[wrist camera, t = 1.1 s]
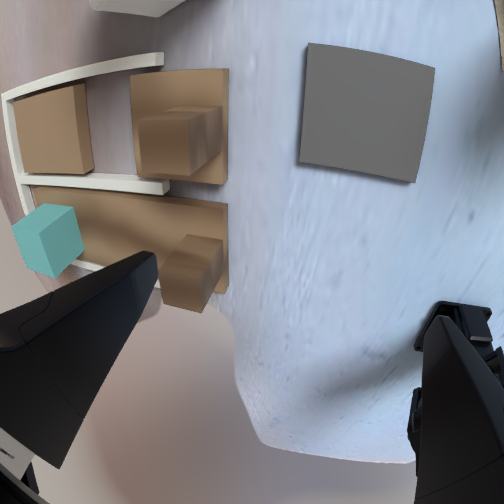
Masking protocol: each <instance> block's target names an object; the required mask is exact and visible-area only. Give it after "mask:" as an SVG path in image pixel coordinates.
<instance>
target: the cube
mask: <svg viewBox="0 0 504 504" xmlns="http://www.w3.org/2000/svg"><path fill="white" fill-rule="evenodd" d="M12 230H13V233H14V235H15V238H16V241H17V244H18V246H19V249H20V252H21V254H22V257H23V259H24V261H25V264H26V266H27V268H29V269H31V270H34V271H36V272H39V273H42V274H44V275H47V276H50V277H53V278H56V277H57V276H58V275H59V274H60V273H61V272H62V271H63V270H64V269H65V268H66V267H67V266H68V265H70V264H71V263H72V262H73V261H74V260H75V259H76V258H77V257H78V256H79V255H80V254H81V253H82V252H83V251H84V250H85V248H84V245H83V241H82V238H81V234H80V230H79V227H78V223H77V219H76V215H75V211H74V207H70V206H63V205H55V204H47V203H43V204H42V205H41V206H39V207H38V208H36V209H35V210H33V211H32V212H31V213H29V214H28V215H26V216H25V217H24V218H22V219H21V220H20V221H18V222H17V223H16V224H14V225H13V226H12Z"/></svg>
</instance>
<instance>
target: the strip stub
mask: <svg viewBox="0 0 504 504" xmlns="http://www.w3.org/2000/svg"><path fill="white" fill-rule="evenodd" d="M130 95H131V112H132V126H133V137H134V148H135V158H136V167H137V175H138V177H145V178H157V179H169V180H181V181H191V182H201V183H210V184H220V185H223V183H224V182H225V181H226V180H227V179H228V95H229V69H192V70H175V71H163V72H153V73H144V74H136V75H130Z"/></svg>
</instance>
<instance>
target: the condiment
mask: <svg viewBox="0 0 504 504" xmlns="http://www.w3.org/2000/svg"><path fill="white" fill-rule="evenodd" d="M494 1H495V5H496V14H497V20H498V32H499V36H500V45H501V57H502V70H503V71H504V0H494Z"/></svg>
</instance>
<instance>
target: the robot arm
mask: <svg viewBox="0 0 504 504" xmlns="http://www.w3.org/2000/svg"><path fill="white" fill-rule="evenodd" d="M158 274H159V273H158V265H157V257H156V254H155V253H153V252H150V251H146V250H143V251H140V252H138V253H136V254H133V255H131V256H129V257H127V258H124V259H122V260H120V261H118V262H115V263H113V264H111V265H109V266H106V267H104V268H102V269H100V270H97V271H95V272H93V273H91V274H89V275H86V276H84V277H82V278H80V279H78V280H76V281H73V282H71V283H69V284H67V285H65V286H63V287H61V288H58V289H56V290H54V292H53V291H52V292H50V293H48V294H46V295H44V296H42V297H40V298H37V299H35V300H33V301H31V302H28V303H26V304H24V305H21V306H19V307H16V308H14V309H12V310H9V311H6V312H4V313H2V314H0V504H49V503H48V502H46V501H45V500H44V499H42V498H41V497H40V496H38V494H39V489H38V486H37V483H36V478H35V474H34V470H33V466H32V462H31V460H32V458H33V457H34V455H35V454H36V455H37V456H39V457H41V458H42V459H43V460H45V461H46V462H48V463H49V464H51V465H52V466H54V467H56V468H57V469H60V467H61V465H62V463H63V461H64V459H65V457H66V455H67V452H68V451H69V449H70V447H71V444H72V442H73V440H74V438H75V436H76V434H77V432H78V430H79V428H80V426H81V424H82V422H83V419H84V418H85V416H86V414H87V412H88V410H89V408H90V406H91V404H92V402H93V401H94V399H95V397H96V395H97V393H98V391H99V389H100V387H101V385H102V384H103V382H104V380H105V378H106V376H107V374H108V373H109V371H110V369H111V367H112V365H113V364H114V362H115V360H116V358H117V356H118V354H119V353H120V351H121V349H122V348H123V346H124V344H125V342H126V341H127V339H128V337H129V335H130V334H131V332H132V330H133V329H134V327H135V325H136V324H137V322H138V320H139V318H140V316H141V314H142V312H143V310H144V308H145V306H146V303H147V301H148V299H149V297H150V295H151V292H152V290H153V288H154V286H155V284H156V282H157V279H158ZM441 306H443V307H441ZM486 313H487V314H486ZM491 315H492V311H491V309H490V308H486V307H480V306H473V305H466V304H460V303H453V302H447V301H440V302H438V303H437V305H436V307H435V309H434V311H433V312H432V314H431V316H430V318H429V320H428V322H427V323H426V325H425V327H424V329H423V331H422V332H421V334H420V336H419V338H418V339H417V341H416V343H415V344H414V349H415V351H420V352H423V369H422V387H421V388H420V387H418V388H416V389H414V390H413V397H412V402H411V409H410V416H409V422H408V428H407V432H408V440H409V441H410V443H411V446H412V448H413V450H414V452H415V454H416V476H417V477H418V478H417V486H416V493H415V500H414V504H504V353H503V350H502V348H501V346H500V347H498V348H497V349H496V350H495V351H494V350H493V346H492V343H491V342H492V341H493V339H492V335H491V332H490V330H489V327H488V324H487V321H488V320H489V318H490V316H491Z"/></svg>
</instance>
